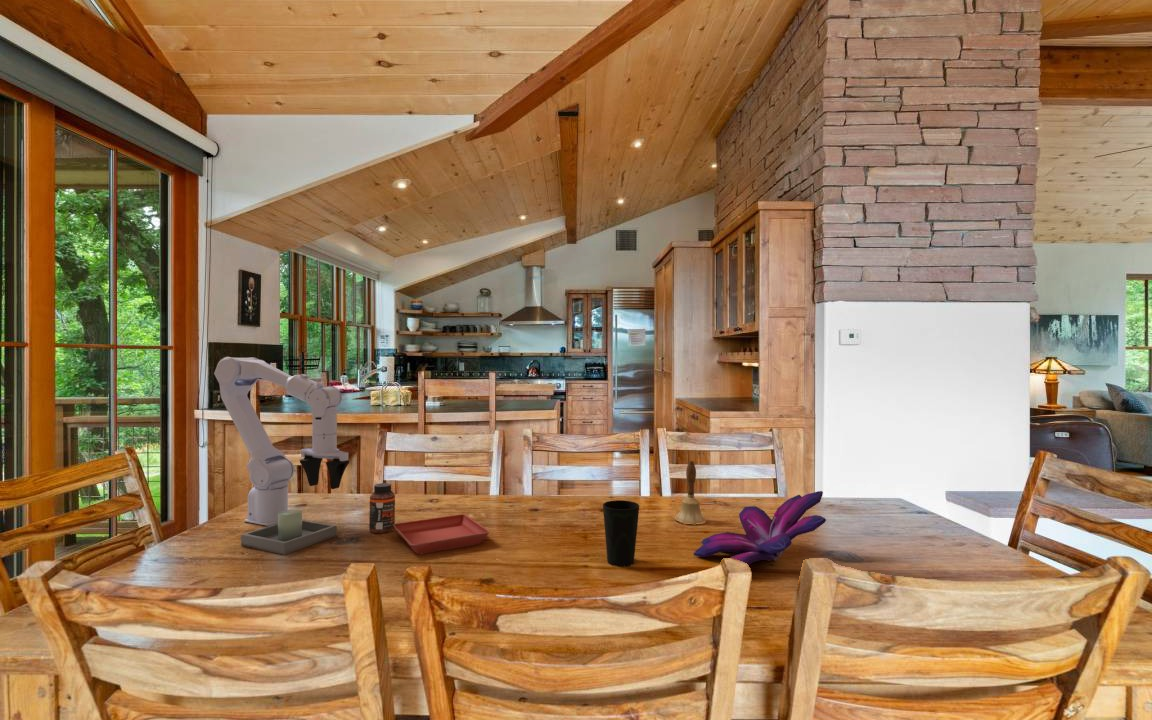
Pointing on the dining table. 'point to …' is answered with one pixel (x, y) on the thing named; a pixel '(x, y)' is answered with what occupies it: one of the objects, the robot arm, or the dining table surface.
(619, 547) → the cup
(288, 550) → the tray
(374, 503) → the supplement bottle
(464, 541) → the plant saucer
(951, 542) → the dining table surface
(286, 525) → the green cylinder
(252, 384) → the robot arm
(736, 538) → the decorative flower
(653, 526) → the dining table surface
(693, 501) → the hand bell
